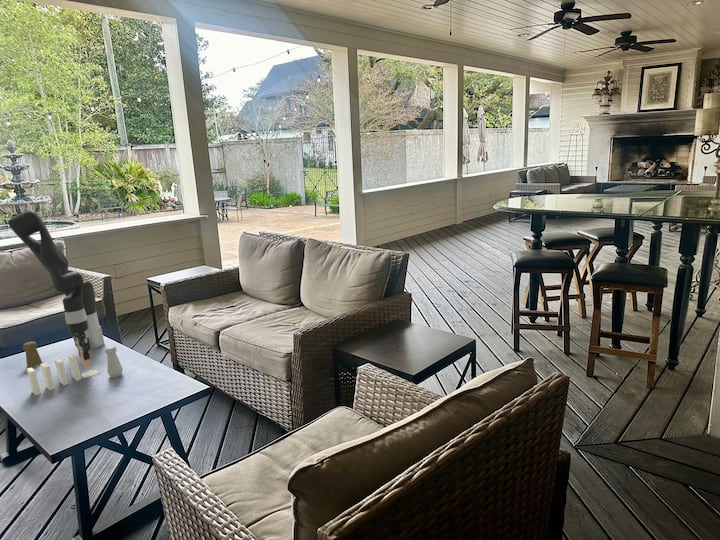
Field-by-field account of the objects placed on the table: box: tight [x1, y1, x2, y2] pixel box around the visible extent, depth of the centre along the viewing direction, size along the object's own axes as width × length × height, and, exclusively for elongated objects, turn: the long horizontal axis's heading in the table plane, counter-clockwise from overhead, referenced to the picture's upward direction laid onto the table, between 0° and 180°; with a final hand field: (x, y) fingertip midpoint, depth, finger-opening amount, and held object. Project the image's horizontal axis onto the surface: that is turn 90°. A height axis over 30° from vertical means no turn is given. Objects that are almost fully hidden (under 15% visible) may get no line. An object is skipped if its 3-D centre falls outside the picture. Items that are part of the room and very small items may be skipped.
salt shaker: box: [104, 345, 124, 379], centre depth 207 cm, size 6×6×13 cm
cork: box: [22, 341, 43, 369], centre depth 225 cm, size 6×6×11 cm
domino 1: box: [26, 367, 42, 396], centre depth 197 cm, size 2×5×10 cm, turn 47°
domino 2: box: [40, 362, 56, 391], centre depth 201 cm, size 2×5×10 cm, turn 46°
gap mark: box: [80, 368, 100, 379], centre depth 212 cm, size 6×6×1 cm
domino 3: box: [54, 358, 69, 386], centre depth 204 cm, size 2×5×10 cm, turn 47°
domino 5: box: [78, 344, 92, 368], centre depth 210 cm, size 2×5×10 cm, turn 46°
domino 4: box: [67, 354, 82, 382], centre depth 208 cm, size 2×5×10 cm, turn 46°
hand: (85, 357), depth 210 cm, fingers closed on domino 5, 5 cm apart
